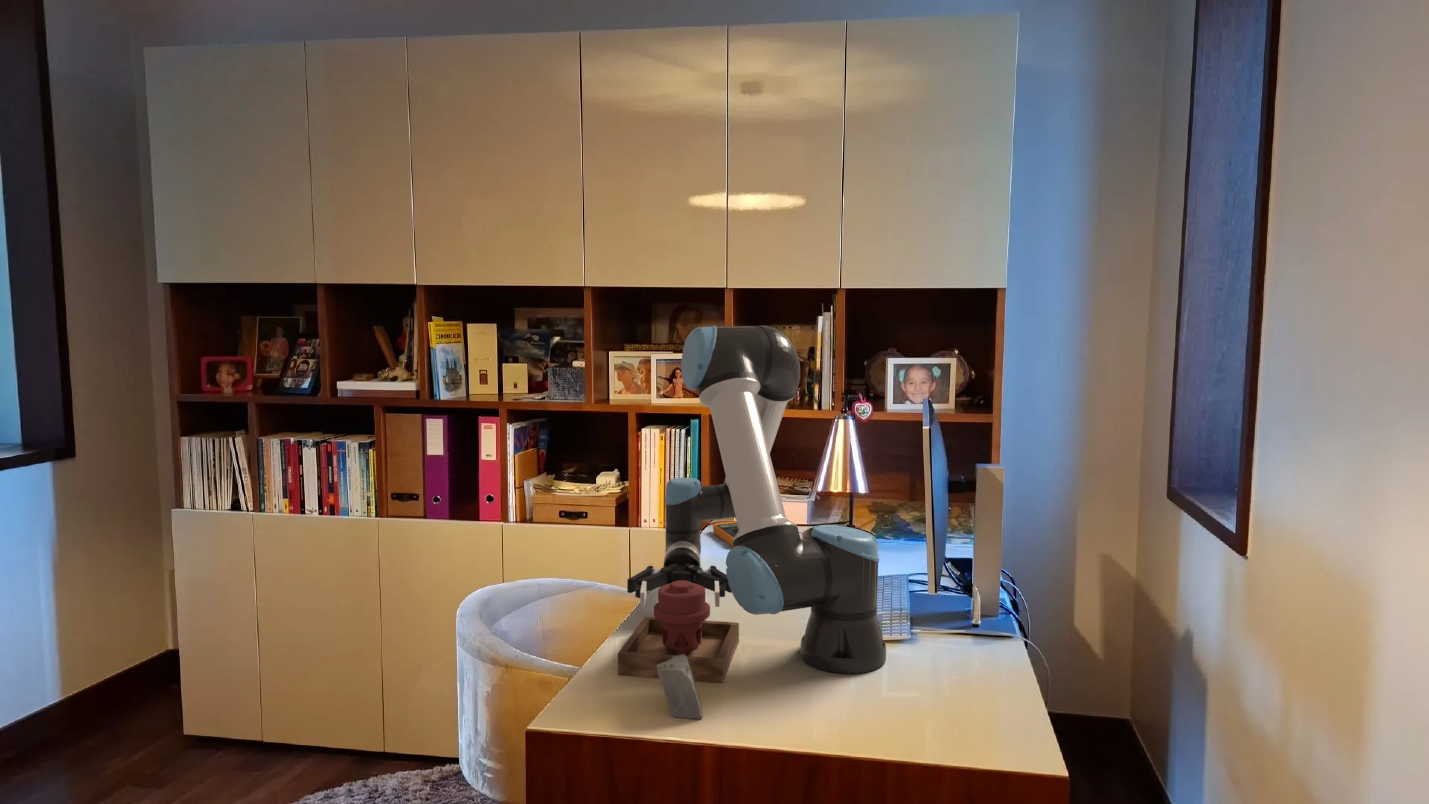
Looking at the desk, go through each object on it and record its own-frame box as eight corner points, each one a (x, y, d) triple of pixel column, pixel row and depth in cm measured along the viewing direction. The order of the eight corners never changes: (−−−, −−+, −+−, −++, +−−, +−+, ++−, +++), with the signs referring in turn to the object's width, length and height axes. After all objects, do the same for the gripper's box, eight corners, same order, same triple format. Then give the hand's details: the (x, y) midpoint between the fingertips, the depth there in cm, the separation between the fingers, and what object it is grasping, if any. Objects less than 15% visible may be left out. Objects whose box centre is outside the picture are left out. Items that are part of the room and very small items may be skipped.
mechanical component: (709, 639, 160) (710, 662, 150) (655, 640, 160) (652, 662, 150) (709, 574, 159) (710, 593, 149) (654, 575, 159) (651, 593, 149)
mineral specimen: (696, 689, 141) (700, 647, 138) (707, 725, 133) (711, 680, 131) (651, 692, 139) (654, 649, 137) (659, 729, 131) (662, 683, 129)
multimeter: (735, 552, 222) (735, 538, 222) (711, 534, 239) (711, 522, 239) (766, 548, 225) (766, 535, 225) (741, 531, 242) (741, 519, 241)
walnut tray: (738, 641, 163) (739, 622, 162) (722, 683, 145) (722, 661, 145) (645, 635, 166) (645, 616, 165) (617, 674, 148) (617, 653, 148)
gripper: (742, 581, 180) (748, 619, 159) (621, 582, 179) (611, 620, 158) (742, 546, 179) (748, 579, 158) (621, 546, 179) (610, 579, 157)
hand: (679, 599), depth 158 cm, fingers open, 13 cm apart
